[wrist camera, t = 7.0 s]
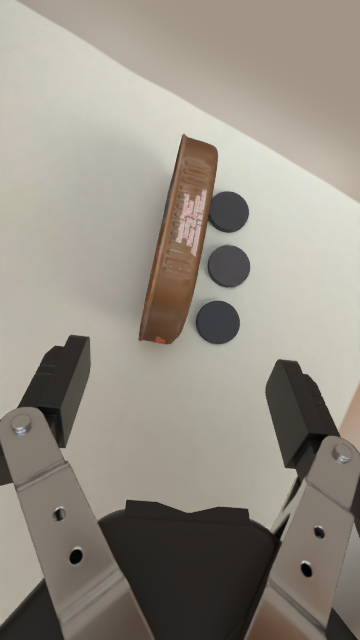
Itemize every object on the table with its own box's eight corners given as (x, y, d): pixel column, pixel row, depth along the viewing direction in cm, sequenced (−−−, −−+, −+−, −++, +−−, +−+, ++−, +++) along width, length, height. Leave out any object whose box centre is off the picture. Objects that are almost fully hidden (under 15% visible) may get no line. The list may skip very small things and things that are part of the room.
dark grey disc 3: (239, 304, 27) (241, 303, 26) (236, 346, 26) (238, 346, 26) (198, 299, 27) (199, 298, 26) (194, 341, 26) (195, 340, 26)
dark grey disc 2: (249, 250, 28) (251, 248, 27) (246, 290, 27) (248, 288, 27) (209, 245, 28) (211, 242, 27) (205, 284, 27) (207, 282, 26)
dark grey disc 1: (248, 198, 29) (250, 194, 28) (245, 235, 28) (247, 232, 27) (209, 191, 28) (211, 188, 28) (205, 229, 28) (207, 226, 27)
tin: (171, 178, 28) (180, 100, 20) (205, 187, 28) (229, 112, 20) (136, 343, 26) (130, 333, 17) (173, 350, 26) (185, 344, 18)
